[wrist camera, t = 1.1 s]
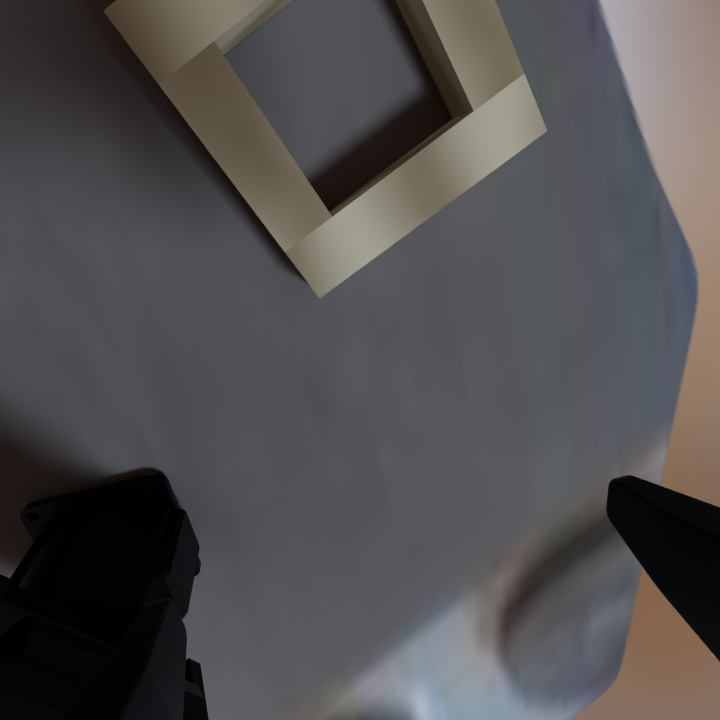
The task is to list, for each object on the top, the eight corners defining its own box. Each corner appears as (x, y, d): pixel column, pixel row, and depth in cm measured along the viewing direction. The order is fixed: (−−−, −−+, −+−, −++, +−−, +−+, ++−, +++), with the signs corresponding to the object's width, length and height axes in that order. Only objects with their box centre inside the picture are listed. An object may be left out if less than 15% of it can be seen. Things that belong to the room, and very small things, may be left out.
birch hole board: (314, 287, 19) (319, 298, 18) (123, 32, 15) (103, 10, 13) (519, 136, 19) (547, 131, 17) (384, -179, 14) (402, -233, 12)
